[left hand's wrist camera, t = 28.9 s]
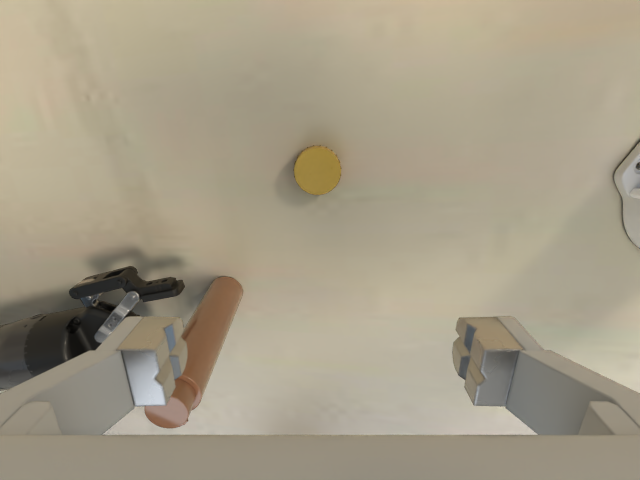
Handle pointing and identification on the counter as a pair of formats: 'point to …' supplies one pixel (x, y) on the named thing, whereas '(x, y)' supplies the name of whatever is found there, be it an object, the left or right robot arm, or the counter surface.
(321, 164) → the lid
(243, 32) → the counter surface
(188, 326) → the bottle
